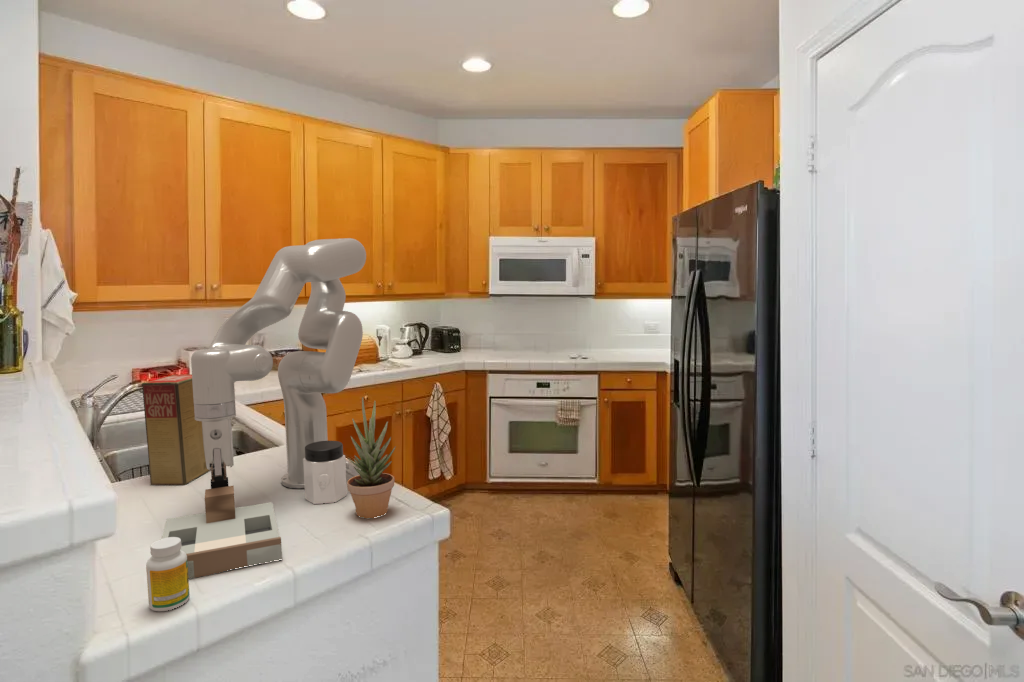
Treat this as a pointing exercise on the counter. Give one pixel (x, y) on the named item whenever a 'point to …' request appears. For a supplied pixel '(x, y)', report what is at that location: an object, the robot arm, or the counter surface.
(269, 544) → the board
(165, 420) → the food packaging
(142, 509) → the counter surface
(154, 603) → the supplement bottle
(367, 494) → the potted plant
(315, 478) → the jar
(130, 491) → the counter surface
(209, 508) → the walnut block
